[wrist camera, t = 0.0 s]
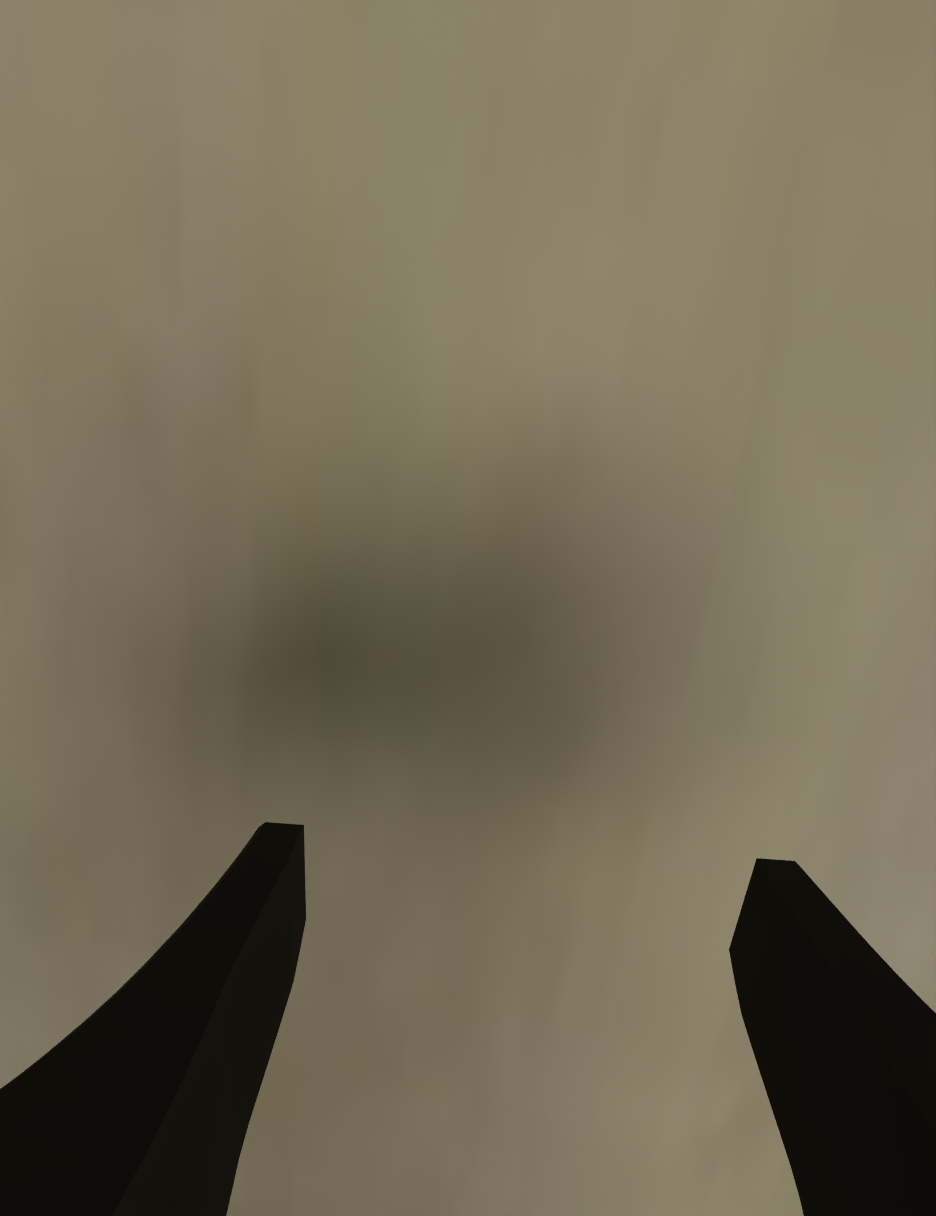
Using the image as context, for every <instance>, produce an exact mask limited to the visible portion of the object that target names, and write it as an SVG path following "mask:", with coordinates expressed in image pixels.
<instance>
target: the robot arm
mask: <svg viewBox="0 0 936 1216" xmlns="http://www.w3.org/2000/svg"><path fill="white" fill-rule="evenodd" d="M305 921H306V900H305V857H304V825H296V824H282V823H269V822H265V823H264V824H262V825H261V826H260V827H258V829H257V830H256V832H255V833H254V835H253V836H252V838H251V839H250V840H249V842H248V843H247V844H246V846H245V847H244V849H243V850H242V851H241V853H240V854H239V855H238V857H237V858H236V859H235V861H234V862H233V863H232V864H231V866H230V867H229V868H228V870H227V871H226V872H225V873H224V875H223V876H222V877H221V878H220V880H219V881H218V882H217V883H216V885H215V886H214V887H213V888H212V890H211V891H210V892H209V893H208V894H207V895H206V897H205V898H204V899H203V900H202V901H201V903H200V904H199V905H198V906H197V907H196V908H195V910H194V911H193V912H192V913H191V914H190V916H189V917H188V918H187V919H186V920H185V921H184V922H183V924H182V925H181V926H180V927H179V928H178V929H177V930H176V931H175V932H174V934H173V935H172V936H171V937H170V938H169V939H168V940H167V941H166V942H165V943H164V944H163V945H162V946H161V947H160V948H159V949H158V951H157V952H156V953H155V954H154V955H153V956H152V957H151V958H150V959H149V960H148V961H147V962H146V963H145V964H144V965H143V966H142V967H141V968H140V969H139V970H138V971H137V972H136V973H135V974H134V975H133V976H132V977H131V978H130V979H129V980H128V981H127V982H126V983H125V984H124V985H123V986H122V987H121V988H120V989H119V990H118V991H117V992H116V993H115V994H114V995H113V996H112V997H111V998H110V999H108V1000H107V1001H106V1002H105V1003H104V1004H103V1005H102V1006H101V1007H100V1008H99V1009H98V1010H96V1011H95V1012H94V1013H93V1014H92V1015H91V1016H90V1017H89V1018H88V1019H86V1020H85V1021H84V1022H83V1023H82V1024H81V1025H80V1026H78V1027H77V1028H76V1029H75V1030H74V1031H72V1032H71V1033H70V1034H69V1035H68V1036H66V1037H65V1038H64V1039H63V1040H62V1041H61V1042H59V1043H58V1044H57V1045H56V1046H55V1047H53V1048H52V1049H51V1050H50V1051H49V1052H48V1053H46V1054H45V1055H44V1056H43V1057H41V1058H40V1059H39V1060H38V1061H36V1062H35V1063H34V1064H33V1065H31V1066H30V1067H29V1068H28V1069H26V1070H25V1071H24V1072H22V1073H21V1074H20V1075H19V1076H17V1077H16V1078H15V1079H13V1080H12V1081H11V1082H9V1083H8V1084H6V1085H5V1086H4V1087H2V1088H1V1089H0V1216H226V1214H227V1210H228V1205H229V1201H230V1196H231V1192H232V1187H233V1183H234V1179H235V1174H236V1170H237V1165H238V1161H239V1157H240V1153H241V1149H242V1146H243V1142H244V1139H245V1135H246V1131H247V1128H248V1124H249V1121H250V1118H251V1115H252V1112H253V1108H254V1105H255V1102H256V1099H257V1096H258V1093H259V1090H260V1086H261V1083H262V1080H263V1077H264V1074H265V1071H266V1068H267V1064H268V1061H269V1058H270V1055H271V1052H272V1049H273V1045H274V1042H275V1039H276V1036H277V1033H278V1030H279V1026H280V1023H281V1020H282V1017H283V1014H284V1011H285V1007H286V1004H287V1001H288V998H289V994H290V991H291V988H292V985H293V981H294V976H295V971H296V967H297V962H298V957H299V952H300V947H301V942H302V937H303V931H304V926H305ZM729 952H730V957H731V963H732V968H733V974H734V979H735V985H736V990H737V994H738V999H739V1004H740V1009H741V1013H742V1017H743V1020H744V1023H745V1027H746V1030H747V1033H748V1036H749V1039H750V1043H751V1046H752V1049H753V1052H754V1055H755V1058H756V1061H757V1064H758V1068H759V1071H760V1074H761V1077H762V1080H763V1083H764V1086H765V1089H766V1092H767V1095H768V1098H769V1101H770V1104H771V1107H772V1110H773V1113H774V1116H775V1119H776V1122H777V1126H778V1129H779V1132H780V1135H781V1138H782V1141H783V1144H784V1147H785V1150H786V1153H787V1156H788V1159H789V1162H790V1165H791V1169H792V1172H793V1176H794V1179H795V1183H796V1186H797V1190H798V1193H799V1197H800V1201H801V1205H802V1210H803V1214H804V1216H936V1013H935V1012H934V1011H933V1010H932V1009H931V1008H930V1007H929V1006H928V1005H927V1004H926V1003H925V1002H924V1001H923V1000H922V999H921V998H920V997H919V996H918V995H917V994H916V993H915V992H914V991H913V990H912V989H911V988H910V987H909V986H908V985H907V984H906V983H905V982H904V981H903V980H902V979H901V978H900V977H899V976H898V975H897V974H896V973H895V972H894V971H893V970H892V968H891V967H890V966H889V965H888V964H887V963H886V962H885V961H884V960H883V959H882V958H881V957H880V956H879V955H878V953H877V952H876V951H875V950H874V949H873V948H872V947H871V946H870V945H869V944H868V943H867V941H866V940H865V939H864V938H863V937H862V936H861V935H860V934H859V933H858V932H857V930H856V929H855V928H854V927H853V926H852V925H851V924H850V923H849V921H848V920H847V919H846V918H845V917H844V916H843V915H842V914H841V912H840V911H839V910H838V909H837V908H836V907H835V906H834V905H833V903H832V902H831V901H830V900H829V899H828V898H827V897H826V895H825V894H824V893H823V892H822V891H821V890H820V889H819V887H818V886H817V885H816V884H815V883H814V882H813V881H812V879H811V878H810V877H809V876H808V875H807V874H806V873H805V872H804V871H803V869H802V868H801V867H800V866H799V865H798V864H797V863H796V862H795V861H786V860H772V859H758V858H757V859H756V862H755V866H754V869H753V872H752V876H751V879H750V882H749V885H748V889H747V892H746V895H745V899H744V902H743V905H742V909H741V912H740V915H739V919H738V922H737V925H736V928H735V932H734V935H733V938H732V942H731V945H730V948H729Z"/></svg>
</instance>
